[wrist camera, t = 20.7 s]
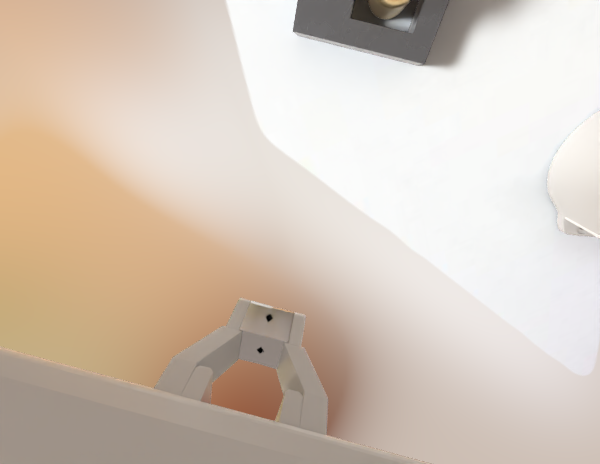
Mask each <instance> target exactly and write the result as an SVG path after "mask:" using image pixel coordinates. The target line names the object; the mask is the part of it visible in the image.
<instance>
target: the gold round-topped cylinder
mask: <svg viewBox="0 0 600 464" xmlns="http://www.w3.org/2000/svg"><path fill="white" fill-rule="evenodd" d="M410 1H411V0H368V4H369V7H370V10H371V11H372V13H373V14H374V15H375V16H376V17H378V18H380V19H391V18H393V17H395V16H397V15H398V14H399V13H400V12H401V11H402V10H403V9H404V8H405V7H406V6H407V5H408V4H409V2H410Z"/></svg>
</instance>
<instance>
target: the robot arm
mask: <svg viewBox="0 0 600 464" xmlns="http://www.w3.org/2000/svg"><path fill="white" fill-rule="evenodd" d="M547 189H548V194H549V196H550V198H551V200H552V202H553V204H554V205H555V207H556V209H557V212H558V215H557V226H558V229H559V230H560V231H562V232H564V233H566V234H568V235H578V236H591V237H598V238H600V110H599V111H598V112H596V113H595V114H593V115H592V116H591V117H589V118H588V119H587V120H585V121H584V122H583V123H582V124H580V125H579V126H578V127H577V128H576V129H575V130H574V131H573V132H572V133H571V134H570V135H569V136H568V137H567V139H566V140H565V141H564V142H563V144H562V145H561V146H560V148H559V149H558V151H557V153H556V154H555V156H554V158H553V160H552V162H551V165H550V168H549V171H548V176H547ZM305 319H306V316H305V315H304V314H300V313H296V312H295V313H294V312H292V311H288V310H284V309H280V308H276V307H272V306H268V305H265V304H261V303H258V302H254V301H250V300H247V299H244V298H240V299H239V300H238V302H237V304H236V306H235V309H234V311H233V313H232V315H231V317H230V319H229V321H228V323H227V325H226V327H225V326H222V327H220V328H218V329H217V330H215V331H214V332H212V333H210V334H209V335H207V336H206V337H204V338H203V339H201V340H199V341H198V342H196V343H194V344H193V345H191V346H190V347H188V348H186V349H185V350H183V351H182V352H180V353H179V354H177V355H175V356H174V357H173V358H172V359H171V361H170V363H169V365H168V366H167V368H166V369H165V371H164V372H163V374H162V376H161V377H160V379H159V381H158V382H157V384H156V385H155V387H154V388H150V387H146V386H143V385H139V384H135V383H132V382H128V381H124V380H121V379H117V378H113V377H110V376H106V375H102V374H99V373H95V372H91V371H87V370H84V369H80V368H76V367H73V366H69V365H65V364H62V363H58V362H54V361H51V360H47V359H43V358H40V357H36V356H32V355H28V354H25V353H21V352H18V351H14V350H10V349H7V348H3V347H0V464H431V463H427V462H424V461H420V460H416V459H412V458H409V457H405V456H401V455H398V454H394V453H390V452H387V451H383V450H379V449H375V448H372V447H368V446H364V445H361V444H357V443H353V442H350V441H346V440H342V439H339V438H335V437H331V436H327V435H326V433H327V414H328V398H327V395H326V393H325V391H324V389H323V387H322V384H321V382H320V380H319V378H318V376H317V374H316V372H315V370H314V367H313V365H312V363H311V361H310V359H309V357H308V355H307V352H306V350H305V348H304V347H301V344H302V338H303V331H304V325H305ZM238 359H241V360H246V361H249V362H253V363H258V364H261V365H264V366H268V367H271V368H274V369H277V374H278V377H279V381H280V384H281V388H282V391H283V395H284V397H283V400H282V403H281V406H280V409H279V411H278V414H277V417H276V420H275V421H272V420H268V419H265V418H261V417H257V416H254V415H250V414H246V413H243V412H239V411H235V410H232V409H228V408H224V407H220V406H217V405H213V404H210V402H211V390H212V382H214V381H215V380H216V379H217V378H218V377H219V376H220V375H221V374H223V373H224V372H225V371H226V370H227V369H228V368H230V367H231V366H232V365H233V364H234V363H235V362H236V361H237V360H238Z"/></svg>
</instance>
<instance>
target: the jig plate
mask: <svg viewBox="0 0 600 464" xmlns="http://www.w3.org/2000/svg"><path fill="white" fill-rule="evenodd" d="M354 2H355V0H298V3H297V9H296V15H295V21H294V27H293V32H294V33H295V34H297V35H298V36H301V37H305V38H309V39H313V40H317V41H321V42H325V43H329V44H333V45H337V46H341V47H345V48H349V49H353V50H357V51H361V52H365V53H369V54H373V55H377V56H381V57H385V58H389V59H393V60H397V61H401V62H405V63H409V64H413V65H422V64H425V61H426V59H427V56H428V53H429V51H430V48H431V46H432V43H433V41H434V38H435V35H436V33H437V30H438V28H439V25H440V22H441V20H442V17H443V15H444V12H445V10H446V7H447V4H448V2H449V0H419V1H418V3H417V6H416V9H415V12H414V15H413V18H412V21H411V24H410V27H409V30H408V33H407V32H403V31H399V30H395V29H391V28H387V27H383V26H379V25H375V24H371V23H367V22H363V21H359V20H355V19H351V14H352V10H353V6H354Z"/></svg>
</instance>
